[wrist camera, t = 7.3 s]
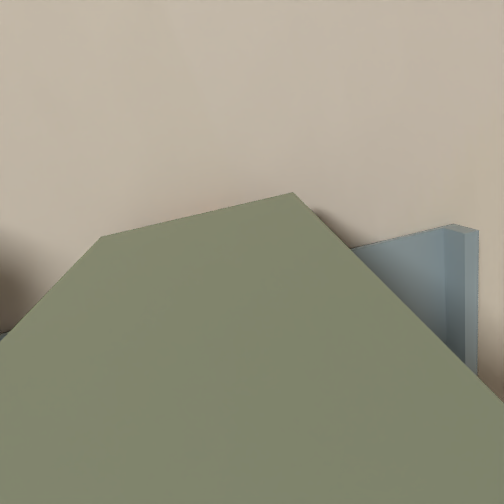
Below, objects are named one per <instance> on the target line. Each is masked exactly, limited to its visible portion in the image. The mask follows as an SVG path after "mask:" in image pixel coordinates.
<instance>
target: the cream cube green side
mask: <svg viewBox="0 0 504 504" xmlns="http://www.w3.org/2000/svg"><path fill="white" fill-rule="evenodd" d="M0 504H504V403H503V402H502V401H501V400H500V399H499V398H498V397H497V396H496V395H495V394H494V393H493V392H492V391H491V390H490V389H489V388H488V387H487V386H486V385H485V384H484V383H483V382H482V381H481V380H480V379H479V378H478V377H477V376H476V375H475V374H474V373H473V372H472V371H471V370H470V369H469V368H468V367H467V366H466V365H465V364H464V363H463V362H462V361H461V360H460V359H459V358H458V357H457V356H456V355H455V354H454V353H453V352H452V351H451V350H450V349H449V348H448V347H447V346H446V345H445V344H444V343H443V342H442V341H441V340H440V339H439V338H438V337H437V336H436V335H435V334H434V333H433V332H432V331H431V330H430V329H429V328H428V327H427V326H426V325H425V324H424V323H423V322H422V321H421V320H420V319H419V318H418V317H417V316H416V315H415V314H414V313H413V312H412V311H411V310H410V309H409V308H408V307H407V306H406V305H405V304H404V303H403V302H402V301H401V300H400V299H399V298H398V297H397V296H396V295H395V294H394V293H393V292H392V291H391V290H390V289H389V288H388V287H387V286H386V285H385V284H384V283H383V282H382V281H381V280H380V279H379V278H378V277H377V276H376V275H375V274H374V273H373V272H372V271H371V270H370V269H369V268H368V267H367V266H366V265H365V264H364V263H363V262H362V261H361V260H360V259H359V258H358V257H357V256H356V255H355V254H354V253H353V252H352V251H351V250H350V249H349V248H348V247H347V246H346V245H345V244H344V243H343V242H342V241H341V240H340V239H339V238H338V237H337V236H336V235H335V234H334V233H333V232H332V231H331V230H330V229H329V228H328V227H327V226H326V225H325V224H324V223H323V222H322V221H321V220H320V219H319V218H318V217H317V216H316V215H315V214H314V213H313V212H312V211H311V210H310V209H309V208H308V207H307V206H306V205H305V204H304V203H303V202H302V201H301V200H300V199H299V198H298V197H297V196H296V195H295V194H294V193H293V192H292V193H288V194H284V195H279V196H275V197H271V198H266V199H262V200H258V201H253V202H249V203H245V204H241V205H236V206H232V207H228V208H223V209H219V210H215V211H210V212H206V213H202V214H197V215H193V216H189V217H185V218H180V219H176V220H172V221H167V222H163V223H159V224H154V225H150V226H146V227H141V228H137V229H133V230H128V231H124V232H120V233H116V234H111V235H107V236H103V237H100V238H99V240H98V241H97V242H96V243H95V244H94V245H93V246H92V247H91V248H90V249H89V250H88V251H87V252H86V253H85V254H84V255H83V256H82V257H81V258H80V259H79V260H78V261H77V262H76V263H75V264H74V265H73V267H72V268H71V269H70V270H69V271H68V272H67V273H66V274H65V275H64V276H63V277H62V278H61V279H60V280H59V281H58V282H57V283H56V284H55V285H54V286H53V287H52V288H51V289H50V290H49V291H48V292H47V293H46V295H45V296H44V297H43V298H42V299H41V300H40V301H39V302H38V303H37V304H36V305H35V306H34V307H33V308H32V309H31V310H30V311H29V312H28V313H27V314H26V315H25V316H24V317H23V318H22V319H21V320H20V322H19V323H18V324H17V325H16V326H15V327H14V328H13V329H12V330H11V331H10V332H9V333H8V334H7V335H6V336H5V337H4V338H3V339H2V340H1V341H0Z"/></svg>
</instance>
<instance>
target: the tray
mask: <svg viewBox="0 0 504 504" xmlns="http://www.w3.org/2000/svg"><path fill="white" fill-rule="evenodd" d="M350 250H351V251H352V252H353V253H354V254H355V255H356V256H357V257H358V258H359V259H360V260H361V261H362V262H363V263H364V264H365V265H366V266H367V267H368V268H369V269H370V270H371V271H372V272H373V273H374V274H375V275H376V276H377V277H378V278H379V279H380V280H381V281H382V282H383V283H384V284H385V285H386V286H387V287H388V288H389V289H390V290H391V291H392V292H393V293H394V294H395V295H396V296H397V297H398V298H399V299H400V300H401V301H402V302H403V303H404V304H405V305H406V306H407V307H408V308H409V309H410V310H411V311H412V312H413V313H414V314H415V315H416V316H417V317H418V318H419V319H420V320H421V321H422V322H423V323H424V324H425V325H426V326H427V327H428V328H429V329H430V330H431V331H432V332H433V333H434V334H435V335H436V336H437V337H438V338H439V339H440V340H441V341H442V342H443V343H444V344H445V345H446V346H447V347H448V348H449V349H450V350H451V351H452V352H453V353H454V354H455V355H456V356H457V357H458V358H459V359H460V360H461V361H462V362H463V363H464V364H465V365H466V366H467V367H468V368H469V369H470V370H471V371H472V372H473V373H474V374H475V375H476V376H477V355H478V253H479V230H476V229H472V228H468V227H464V226H460V225H456V224H451V225H446V226H442V227H438V228H434V229H430V230H426V231H422V232H418V233H414V234H409V235H405V236H401V237H397V238H393V239H389V240H385V241H381V242H376V243H372V244H368V245H364V246H360V247H356V248H352V249H350ZM8 333H9V332H6V333H2V334H0V341H1V340H2V339H3V338H4V337H5V336H6V335H7V334H8Z"/></svg>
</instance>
